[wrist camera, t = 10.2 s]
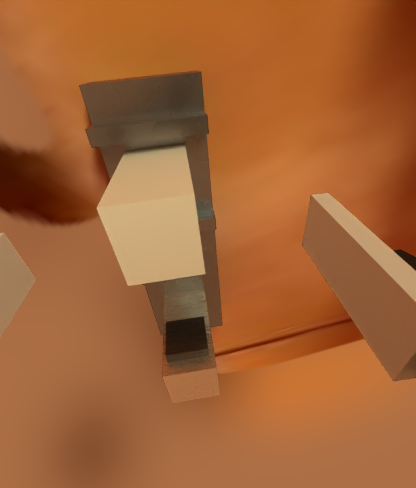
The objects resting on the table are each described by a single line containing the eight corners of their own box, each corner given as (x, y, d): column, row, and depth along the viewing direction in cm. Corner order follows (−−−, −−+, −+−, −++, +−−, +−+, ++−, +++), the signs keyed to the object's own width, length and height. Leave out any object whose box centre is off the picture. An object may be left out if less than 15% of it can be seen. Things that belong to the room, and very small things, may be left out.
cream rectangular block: (124, 151, 17) (96, 208, 10) (184, 143, 17) (194, 194, 10) (144, 222, 20) (133, 299, 13) (195, 215, 20) (207, 287, 14)
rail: (90, 82, 16) (4, 104, 8) (197, 70, 17) (226, 79, 8) (161, 317, 31) (158, 415, 22) (219, 308, 31) (237, 401, 22)
